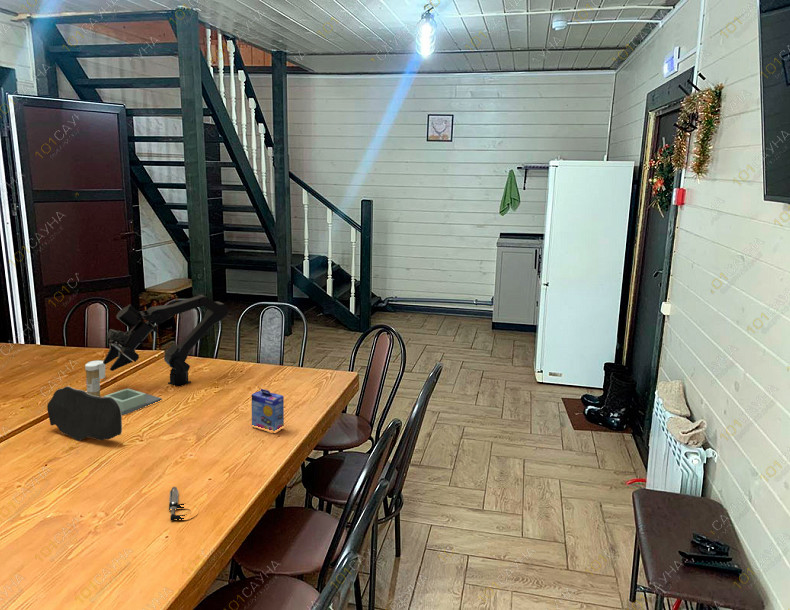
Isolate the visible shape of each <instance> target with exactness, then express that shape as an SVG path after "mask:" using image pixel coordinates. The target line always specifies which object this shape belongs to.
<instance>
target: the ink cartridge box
mask: <svg viewBox="0 0 790 610" xmlns="http://www.w3.org/2000/svg"><path fill="white" fill-rule="evenodd" d="M284 402H285V400H284V395H282V394H278V393H274V392H270V390H268V389H265V388H264V389H263V388H260V389H259V391H256V392H254V393H252V394H251V426H252V425H254V426H258V427H261V428H265V429H269V430H273V431H275V430H277V429H279V428H280V427H282V426H285V423H284V422H285V421H284V420H285V417H284V416H285V415H284V412H285V411H284V410H285V409H284V405H285V403H284Z"/></svg>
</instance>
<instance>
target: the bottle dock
mask: <svg viewBox="0 0 790 610" xmlns="http://www.w3.org/2000/svg"><path fill="white" fill-rule="evenodd" d="M103 397H112V398H114V399H115V400H116V401H117V403H118V404H119V406H120V408H121V413H122V416H125V414H126V415H128V413H129V414H131V413H133V411H134V412H136V411H135V410H137V411H139V410H141V409H140V408H142V409H144V408H143V407H145V406H148V405H150V404H153V403H155V402H158V401H160V400H162V397H159V396H155V395H151V394H150V393H149V394H148V393H145V392H143V391H139V390H138V391H137V390H134V389H132V388H128V387H127V388H124V389H121V390H118V391H115V392H112V393H109V394H106V395H103ZM162 401H163V400H162ZM158 403H159V402H158ZM153 405H154V404H153ZM150 406H151V405H150ZM148 407H149V406H148ZM145 408H146V407H145ZM138 409H139V410H138Z"/></svg>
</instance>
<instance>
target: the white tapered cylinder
mask: <svg viewBox="0 0 790 610" xmlns="http://www.w3.org/2000/svg"><path fill="white" fill-rule="evenodd" d="M103 361H104V360H100V359H97V360H91V361H88V362H87V363H92V362H95V363H99V377H100V379H103V378H105V379H106V365H107V364H104V363H103Z"/></svg>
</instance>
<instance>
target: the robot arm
mask: <svg viewBox="0 0 790 610" xmlns="http://www.w3.org/2000/svg"><path fill="white" fill-rule="evenodd" d="M200 307H204V308H205V309H207V310H206V311H205V314H204V317H203V318H202V319H201V320H200V321H199V323H197V325H196V326H195V327H194V328H193V329H192V330H191V331H190V332H189V333H188V335H187V336H186V337H185V338H184V339H183V340H182V341H181V342H180V343H179V344H177V345H175V344H174V343H173V344H171V345H170V347H169V348H168V349H166V350H165V354H164V355H163V359H164V362H165V363H166V364H167V365H168V366H169V367H170V368H171V369H170V370H169V371H170V373H169V381H168V383H167V384H168V385H170V384H171V386H174V385H175V386H174V387H177V386H180V387H182V385H183V386H185V384H186V385H189V384H191V383H192V381H191V380H189V371H190V368H191V365H190V364H189V363H187V359H188V356H189V353H190V351H191V350H192V349H193V348H194V346H196V344H197V343H198V342H199V341H200V340H201V339H202V338H203V337H204V336H205V334H206V333H207V332H208V331H209V330H210V329H211V328H212V327H213V326H214V325H216V324H217V323H220V322H222V320H223V319H225V318H226V317H227V316H228V315H229V312H230V311H229V307H228V306H227V305H226V304H225V303H223V302H221V301H213V300H211V299H210V298H208V297H207V296H204V295H203V294H198V295H196V296H193V297H190V298H188V299H184V300H181V301H178V302H175V303H172V304H167V305H166V304H165V305H156V306H150V307H149V308H147V309H146V310H145V309H144V310H142V311H138V309H136V308H135V307H134V306H133V305H131V304H128V305H127V306H125V307H123V308H122V309H120V310H119V311H118V312H117V314H116V316H115V317H116V319H117V320H119V322H121V323H122V324H124V325H125V326H127V327H128V328H131V327H132V329H130V330H126V331H121V330H115V329H112V328H109V330H108V333H107V335H106V338H108V345H109V350H108V352H107V354H106V356H105V358H104V359H103V360H102V361H103V363H104V364H106V365H107V364H109V363H110V362H112V361H114V362H113V363H112V365H111V367H110V368H109V370H110V371H111V372H113V371H115V370H117V369H120V368H122V367H124V366H127V365H129V364H133V363H134V362H135V363H136V362H137V361H138V360H139V359H140V354H138V353H137V352H136V350H135V349H136V348H137V347H138V346H139V345H143V344H144V340H145V339H146V338H147V337H148V335H149V334H150V333H152V331H153V332H154V333H156V334H158V333H159V330H158V325H159V324H163V323H165V322H166V321H168V320H170V319H171V318H172V317H174V316H175V315H179V314H182V313H186V312H188V311H189V312H190V311H191V310H195V309H198V308H200ZM143 319H144V320H145V321H144V320H143ZM151 322H152V323H151ZM188 383H189V384H188Z"/></svg>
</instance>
